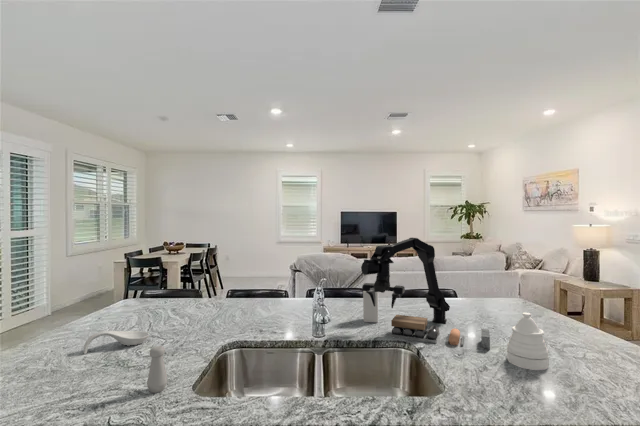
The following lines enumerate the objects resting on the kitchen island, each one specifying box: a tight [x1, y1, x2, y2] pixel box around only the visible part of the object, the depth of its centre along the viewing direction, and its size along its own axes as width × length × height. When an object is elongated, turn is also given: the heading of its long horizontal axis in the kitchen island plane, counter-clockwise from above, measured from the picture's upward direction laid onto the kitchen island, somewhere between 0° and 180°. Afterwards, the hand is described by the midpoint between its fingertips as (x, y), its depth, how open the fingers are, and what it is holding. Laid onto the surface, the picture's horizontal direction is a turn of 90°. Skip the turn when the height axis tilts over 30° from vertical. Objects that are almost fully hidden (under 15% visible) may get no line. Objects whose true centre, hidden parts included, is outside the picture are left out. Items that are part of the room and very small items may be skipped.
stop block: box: [480, 328, 491, 351], centre depth 141 cm, size 10×3×5 cm, turn 155°
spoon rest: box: [82, 330, 150, 355], centre depth 143 cm, size 24×12×7 cm, turn 126°
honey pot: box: [506, 312, 550, 371], centre depth 125 cm, size 13×13×18 cm
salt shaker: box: [146, 345, 168, 394], centre depth 107 cm, size 6×6×13 cm
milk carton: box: [362, 282, 379, 324], centre depth 176 cm, size 7×7×19 cm
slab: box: [390, 314, 428, 330], centre depth 154 cm, size 10×14×2 cm
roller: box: [448, 327, 461, 346], centre depth 146 cm, size 10×4×4 cm, turn 155°
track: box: [390, 325, 465, 347], centre depth 151 cm, size 12×29×4 cm, turn 65°
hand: (383, 307), depth 159 cm, fingers open, 8 cm apart
